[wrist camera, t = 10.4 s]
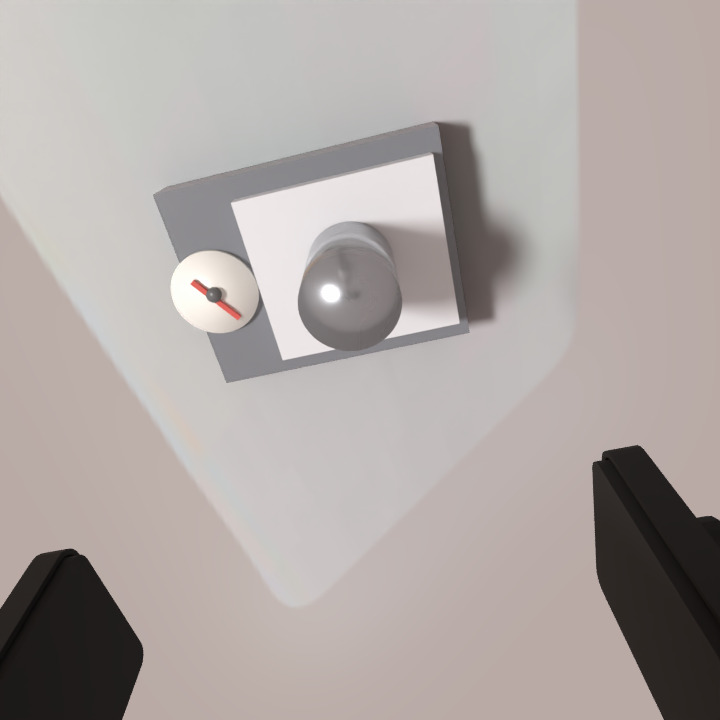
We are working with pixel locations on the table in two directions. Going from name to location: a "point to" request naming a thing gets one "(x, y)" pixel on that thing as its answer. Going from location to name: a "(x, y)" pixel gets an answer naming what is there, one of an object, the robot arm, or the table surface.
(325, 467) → the table surface
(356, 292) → the cylinder
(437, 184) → the scale
